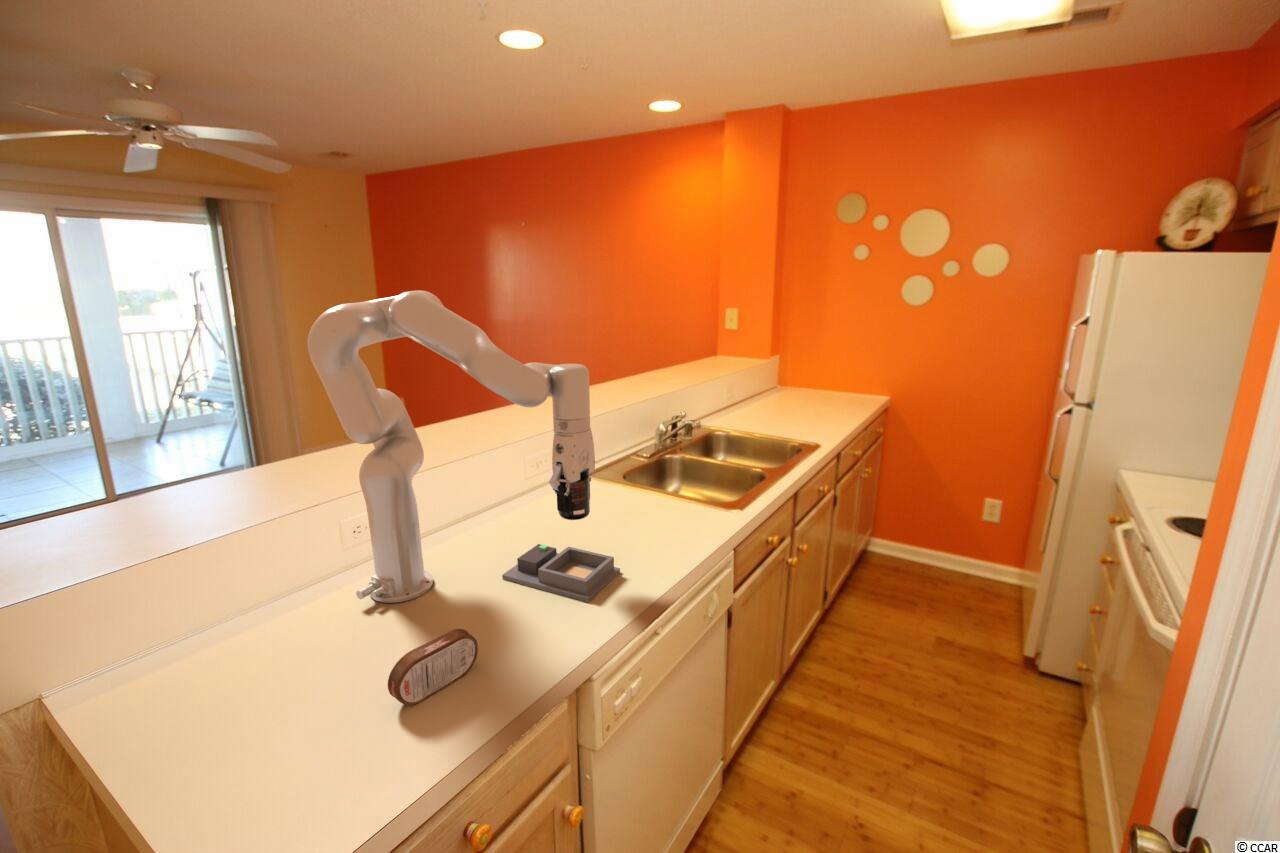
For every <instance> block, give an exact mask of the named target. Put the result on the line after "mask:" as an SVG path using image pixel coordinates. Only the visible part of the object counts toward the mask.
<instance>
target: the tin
mask: <svg viewBox="0 0 1280 853" xmlns="http://www.w3.org/2000/svg"><path fill="white" fill-rule="evenodd" d="M478 651H479V645H478V640H477V639H476V637H475V636H474V635H472V634H471V633H470V632H469V631H467V630H466V629H464V628H454V629H451V630H449V631H447V632H445V633H443V634H441V635H440V636H437V637H435V638H433V639H431V640H430V641H428V642H425V643H424V644H421V645H420V646H418V647H415V648H413V649H412V650H409V651H408V652H407V653H405V654H404V655H403V656H402V657H401V658H399V660H398V661H397V662H396V663H395V664H394V666H393V667H392V669H391V671H390V673H389V675H388V680H387V689H388V690H387V691H388V693H389V695H390V696H391V697H393V698H394V699H395V700H397V701H398V702H399V703H400V704H403V705H406V706H407V705H408V706H412V705H416V704H419V703H421V702H423V701H425V700H426V699H429V697H430V698H431V697H432V696H434V694H437V693H438V692H439V691H442V690H444V689H445V688H446V687H448V686H450V685H451V684H454V683H455V682H457V681H458V680H460V679H461V678H463V677H464V676H465V675H466V674H468V673H469V672H470V670H471V669H472V667H473V666H474V664H475V662H476V660H477V657H478Z"/></svg>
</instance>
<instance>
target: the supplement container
mask: <svg viewBox="0 0 1280 853" xmlns="http://www.w3.org/2000/svg"><path fill="white" fill-rule="evenodd" d="M561 479H565V476H564V474H563V475H561ZM565 480H566V479H565ZM562 486H563V487H564V488H565V486H566V483H564V482H562ZM569 494H571V504H572V512H571V513H565V512H560V511H558V514H559V516H560V517H561V518H562V519H564V520H567V521H569V520H570V521H578V520H583V519H585V518H586V517H588V516H589V514H590V512H591V503H590V501H591V492H590V493H589V468H588V469H587V470H585V471H583V472H581V473H580V480H578V481H577V482H575V483H571V487H570V492H569Z"/></svg>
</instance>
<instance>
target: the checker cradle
mask: <svg viewBox="0 0 1280 853" xmlns="http://www.w3.org/2000/svg"><path fill="white" fill-rule="evenodd" d="M516 560H517V563H516V565H514V566H513V567H511V568H510V569H508V570H507V571H505V572H504V573H502V576H501V577H502V580H505V581H509V582H512V583H517V584H520V585H524V586H525V587H526V586H527V587H531V588H533V589H534V588H535V589H537V590H542V591H544V592H549V593H552V594H556V595H559V596H563V597H567V598H570V599H574V600H577V601H581V602H585V603H590V602H591V601H592V600H593V599H594V598H595V597H596V596H597V595H598V594H599V593H601V591H602V590H603V589H604V588H605V587H606V586H608V584H609V583H611V581H612V580H614V579H615V578H616V577H617V576H618V575H619V574H620V573H621V568H619V567H618V566H617V567H616V566H615V557H614V556H610V555H606V554H602V553H598V552H593V551H588V550H584V549H582V548H581V549H580V548H576V547H573V546H567V547H566V548H565V549H563V550H561V552H559V553H558V552H557V548H556V547H553V546H549V545H547V544H543V543H542V544H540V543H537V544H536V545H535V546H533V547H532V548H531V549H528V551H526V552H525V553H523V554H522V555H520V556H519V557H518V558H516Z"/></svg>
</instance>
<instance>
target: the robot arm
mask: <svg viewBox="0 0 1280 853" xmlns="http://www.w3.org/2000/svg"><path fill="white" fill-rule="evenodd" d="M406 337H407V338H409V339H411V340H412V341H414V342H416V343H418V344H420V345H422V346H424V347H426V348H427V349H429V350H431V351H432V352H434V353H436V354H437V355H440V356H441V357H443V358H445V359H446V360H447V361H450V362H452V363H453V364H455V365H457V366H458V367H459V368H460V369H461V370H462V371H463V372H465V373H467V375H469V376H470V377H471V378H473V379H475V380H476V381H477V382H478V383H480V384H481V385H482V386H484V387H486V388H487V389H488V390H490V391H492V392H494V393H495V394H497V395H499V396H501V397H502V398H504V399H506V400H507V401H510V402H511V403H513V404H516V405H517V406H520V407H523V408H536V407H539V406H540V405H542V404H544V403H545V401H546V400H547V399H548V397H551V399H552V418H553V419H552V420H553V421H552V422H553V424H552V425H553V433H554V434H553V440H552V450H551V451H552V455H551V456H552V457H551V459H552V460H551V466H552V468H551V469H552V474H551V477H550V480H549V481H548V482H549V485H550V487H551V488H552V490H553V491H554V493H555V494H556V506H557V508H556V509H557V511H558V512H559V511H560V512H565V513H571V512H572V504H571V494H569V492H570V487H571V483H575V482H577V481H578V480H580V473H581V472H583V471H585V470H587V469H588V468H589V493H590V494H591V481H592V477H591V475H592V473H593V472H594V471H595V469H596V459H595V458H596V457H595V456H596V455H595V447H594V446H595V444H594V438H593V431H592V428H591V406H590V402H591V401H590V372H589V369H588V367H587V366H586V365H584V364H581V363H580V364H579V363H560V364H551V363H543V362H534V361H533V362H527V363H525V364H524V363H522V362H521V361H519V360H517V359H516V358H513V357H512V356H510V355H508V354H507V353H506V352H505V351H503V350H502V349H500V348H499V347H498V346H497V345H495V343H493V341H491V339H490V338H489V336H488V335H487V334H486V332H485V331H484V330H483V329H481V328H480V327H479V326H478V325H476V324H474V323H472V322H471V321H469V320H468V319H465V318H464V317H462V316H461V315H459V314H457V313H455V312H454V311H452V310H450V309H448V308H447V307H445V306H444V305H443V303H442V301H441V300H440V299H439V297H437V296H436V295H435V294H433V293H431V292H429V291H427V290H422V289H421V290H420V289H419V290H410V291H409V290H408V291H404V292H401V293H400V294H398V295H394V296H388V297H383V298H377V299H373V300H367V301H366V300H365V301H359V302H350V303H341V304H339V305H335V306H333V307H330V308H328V309H327V310H325V311H324V312H323V313H321V314H320V315H319V316H318V317H317V319H316V320H315V321H314V322H313V324H312V326H311V327H310V330H309V333H308V336H307V351H308V355H309V359H310V360H311V363H312V365H313V367H314V369H315V371H316V373H317V375H318V377H319V379H320V381H321V383H322V385H323V388H324V389H325V393H326V394H327V397H328V399H329V401H330V403H331V405H332V407H333V410H334V412H335V414H336V416H337V418H338V420H339V423H340V424H341V425H340V426H341V427H342V429H343V431H344V433H345V435H346V436H347V437H348V438H349V439H350V440H351V441H352V442H354V443H356V444H360V445H371V444H372V445H373V448H374V449H372V450H371V451H370V452H369V453H368V454H367V455H366V456H365V458H364V459H363V460H362V463H361V464H360V467H359V472H358V477H359V485H360V488H361V491H362V494H363V497H364V498H363V499H364V501H365V506H366V514H367V521H368V526H369V534H370V541H371V549H372V558H373V564H374V574H373V575H371V576H370V580H371V581H370V582H369V583H368V584H367V585H366V586H363V587H361V588H360V589H359V590H356V591H355V595H356V596H357V599H359V600H363V599H365V598H366V597H368V596H370V598H371V599H373V600H375V601H376V602H380V603H386V604H387V603H388V604H389V603H391V604H393V603H394V604H395V603H401V602H406V601H410V600H413V599H416V598H418V597H420V596H422V595H424V594H425V593H427V591H429V590H430V589H431V587H432V586H433V582H434V581H433V580H434V579H433V576H432V574H431V572H429V571H427V570H425V568H424V567H425V566H424V557H423V546H422V541H421V540H422V538H421V537H422V536H421V529H420V528H421V527H420V520H419V518H420V516H419V511H418V504H417V502H418V501H417V499H416V498H417V497H416V494H415V492H414V488H413V478H414V477H415V475H416V474H417V473H418V471H419V470H420V469H421V467H422V465H423V463H424V459H425V454H424V452H425V451H424V449H423V445H422V442H421V440H420V437H419V435H418V433H417V431H416V428H415V426H414V424H413V422H412V420H411V417H410V415H409V413H408V411H407V409H406V408H407V407H405V404H404V403H403V401H402V400H401V399H400V398H399V397H398V395H396V394H395V393H394V392H392V391H390V390H388V389H384V388H377V386H376V384H375V382H374V380H373V378H372V375H371V373H370V371H369V369H368V367H367V365H366V364H365V362H364V361H363V360H362V358H360V354H359V350H361V349H362V348H364V347H367V346H370V345H373V344H378V343H381V342H385V341H391V340H397V339H401V338H406ZM563 474H564V476H565V479H566V480H565V479H561V475H563ZM562 482H564V483H566V486H565V488H564V487H563V486H562Z"/></svg>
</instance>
